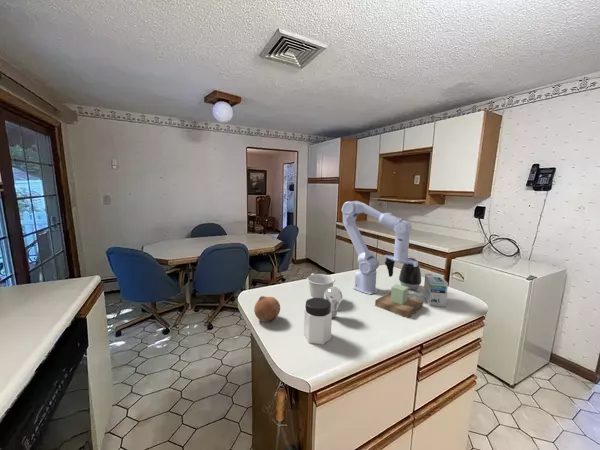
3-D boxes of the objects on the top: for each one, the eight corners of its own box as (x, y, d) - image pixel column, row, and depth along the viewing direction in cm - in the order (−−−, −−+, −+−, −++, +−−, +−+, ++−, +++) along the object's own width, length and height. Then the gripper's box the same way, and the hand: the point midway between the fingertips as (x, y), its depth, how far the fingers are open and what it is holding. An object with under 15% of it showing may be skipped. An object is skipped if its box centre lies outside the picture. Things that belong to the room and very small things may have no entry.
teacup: (322, 290, 124) (322, 270, 123) (339, 303, 111) (340, 281, 109) (299, 294, 119) (299, 273, 117) (314, 309, 106) (315, 285, 104)
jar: (315, 327, 92) (316, 294, 90) (334, 336, 87) (336, 302, 85) (298, 338, 85) (299, 303, 84) (319, 348, 80) (320, 311, 78)
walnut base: (375, 305, 110) (375, 300, 109) (391, 296, 119) (391, 291, 119) (408, 318, 100) (408, 312, 99) (422, 306, 109) (423, 301, 109)
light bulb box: (446, 307, 110) (448, 282, 108) (428, 305, 111) (431, 281, 109) (438, 296, 120) (440, 274, 118) (422, 295, 121) (424, 272, 120)
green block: (390, 300, 109) (391, 286, 108) (395, 297, 112) (397, 283, 112) (402, 304, 105) (403, 290, 105) (407, 301, 109) (408, 287, 108)
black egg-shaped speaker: (412, 283, 136) (415, 255, 134) (424, 291, 126) (427, 260, 124) (394, 283, 135) (396, 255, 132) (405, 292, 125) (407, 261, 122)
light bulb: (342, 314, 102) (344, 285, 100) (339, 323, 95) (341, 292, 93) (325, 311, 104) (326, 282, 102) (321, 319, 97) (322, 289, 95)
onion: (257, 326, 97) (246, 302, 97) (277, 313, 102) (267, 290, 102) (267, 329, 89) (255, 302, 89) (288, 315, 94) (277, 289, 94)
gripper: (381, 246, 116) (379, 276, 118) (414, 253, 106) (411, 285, 108) (389, 244, 121) (387, 272, 123) (421, 250, 111) (418, 281, 113)
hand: (398, 278), depth 116 cm, fingers open, 7 cm apart
